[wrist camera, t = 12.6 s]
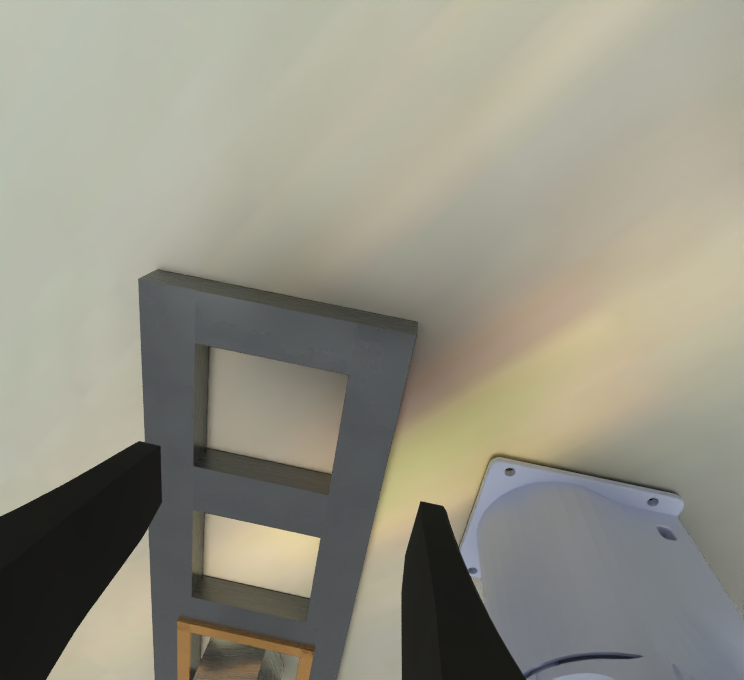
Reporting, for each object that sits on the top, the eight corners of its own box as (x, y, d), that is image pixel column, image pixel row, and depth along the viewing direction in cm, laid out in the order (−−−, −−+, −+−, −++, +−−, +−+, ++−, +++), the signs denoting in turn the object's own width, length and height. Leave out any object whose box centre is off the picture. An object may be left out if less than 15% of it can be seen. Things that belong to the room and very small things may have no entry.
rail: (417, 322, 21) (416, 337, 19) (325, 720, 34) (320, 747, 33) (157, 269, 21) (135, 280, 20) (166, 683, 34) (154, 709, 33)
